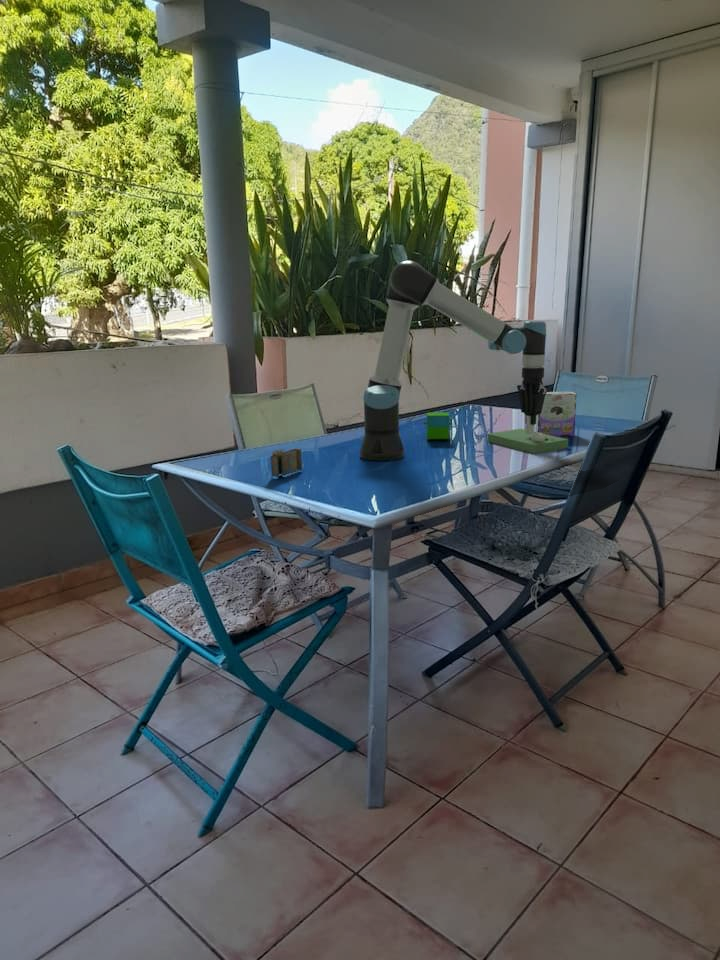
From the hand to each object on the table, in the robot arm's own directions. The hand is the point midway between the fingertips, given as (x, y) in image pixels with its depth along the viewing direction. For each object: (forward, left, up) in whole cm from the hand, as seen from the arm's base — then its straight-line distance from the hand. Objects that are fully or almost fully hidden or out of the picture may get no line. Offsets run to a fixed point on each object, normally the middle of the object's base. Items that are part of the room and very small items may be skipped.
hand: (530, 433), depth 238 cm
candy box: (+20, +8, -5) cm, 22 cm away
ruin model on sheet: (-89, +12, -5) cm, 90 cm away
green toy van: (-19, +29, -5) cm, 35 cm away
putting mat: (0, +2, -4) cm, 5 cm away
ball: (0, -4, -2) cm, 4 cm away
